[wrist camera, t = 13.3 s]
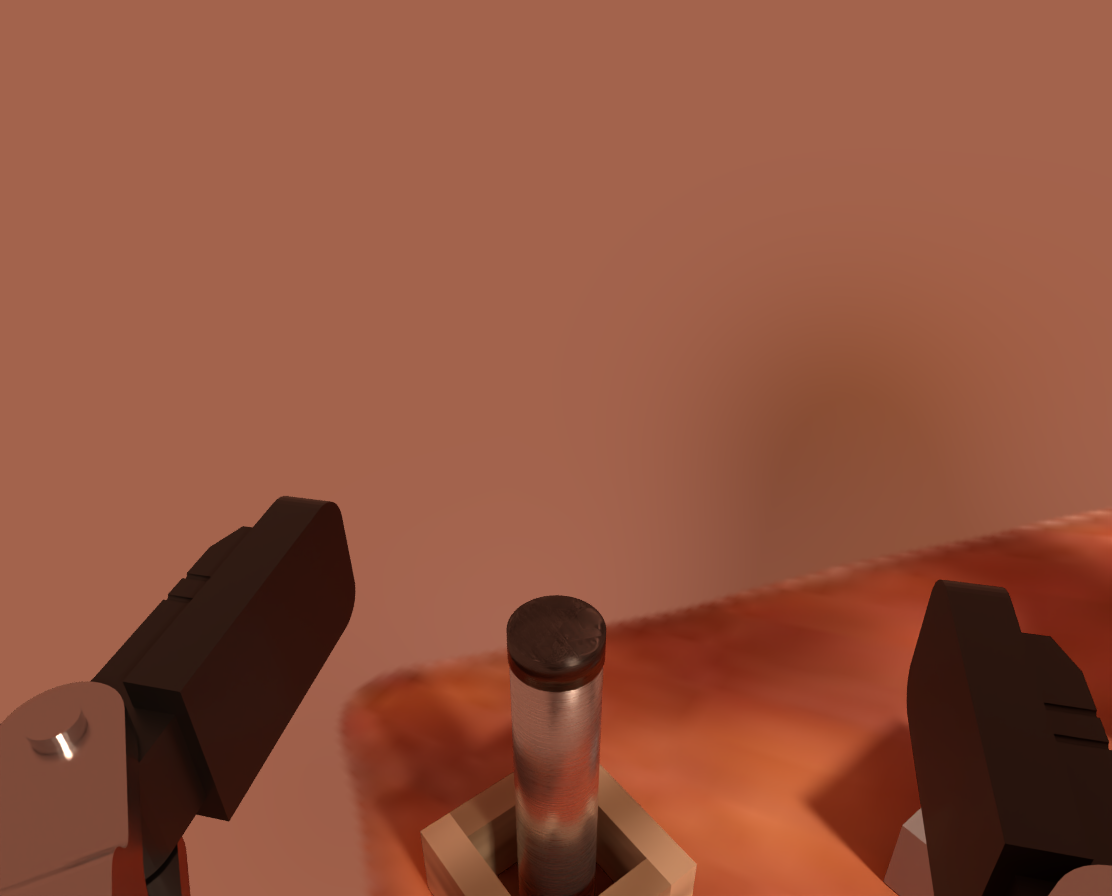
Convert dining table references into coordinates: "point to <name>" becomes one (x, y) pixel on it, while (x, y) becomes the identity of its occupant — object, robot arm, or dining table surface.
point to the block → (910, 861)
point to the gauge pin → (556, 742)
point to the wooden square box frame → (491, 846)
